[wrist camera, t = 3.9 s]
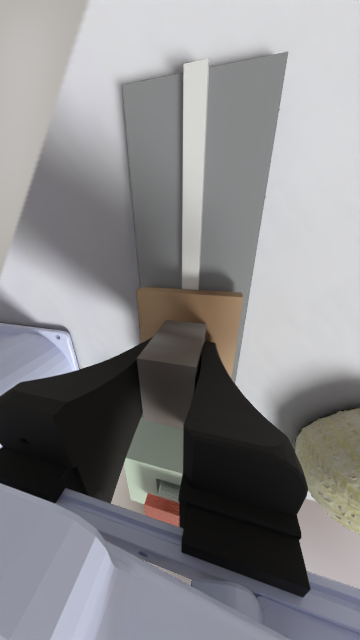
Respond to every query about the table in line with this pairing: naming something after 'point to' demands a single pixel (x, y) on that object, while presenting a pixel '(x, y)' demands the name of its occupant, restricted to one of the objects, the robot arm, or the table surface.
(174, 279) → the track
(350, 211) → the table surface
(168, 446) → the pale green block
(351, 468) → the sea urchin shell
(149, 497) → the button
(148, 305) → the carriage
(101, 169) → the table surface
